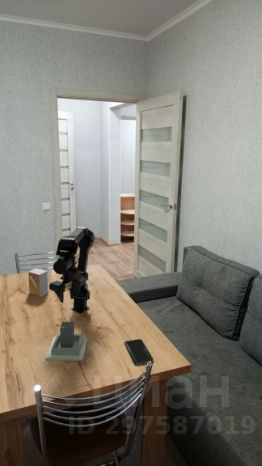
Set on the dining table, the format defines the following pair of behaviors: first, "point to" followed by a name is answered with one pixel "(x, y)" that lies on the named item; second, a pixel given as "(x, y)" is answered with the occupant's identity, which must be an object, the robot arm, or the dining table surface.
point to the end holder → (67, 349)
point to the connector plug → (67, 335)
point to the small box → (38, 282)
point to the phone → (138, 352)
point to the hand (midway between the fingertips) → (69, 298)
